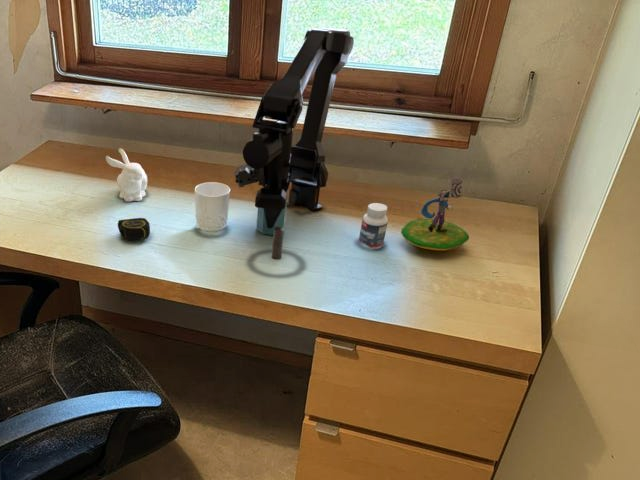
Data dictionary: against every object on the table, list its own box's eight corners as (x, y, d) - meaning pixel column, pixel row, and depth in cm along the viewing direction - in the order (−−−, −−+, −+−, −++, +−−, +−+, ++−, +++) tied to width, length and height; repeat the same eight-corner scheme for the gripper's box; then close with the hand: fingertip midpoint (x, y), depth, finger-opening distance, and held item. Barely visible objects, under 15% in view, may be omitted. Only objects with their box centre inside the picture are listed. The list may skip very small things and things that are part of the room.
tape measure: (147, 229, 159) (146, 214, 156) (152, 243, 153) (152, 227, 151) (118, 232, 158) (117, 217, 156) (122, 246, 152) (121, 230, 150)
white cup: (226, 239, 154) (228, 197, 148) (191, 236, 155) (191, 195, 149) (230, 224, 160) (232, 183, 154) (197, 221, 162) (197, 180, 155)
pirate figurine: (398, 256, 146) (412, 189, 137) (398, 229, 156) (411, 166, 147) (467, 263, 143) (486, 195, 134) (463, 236, 153) (480, 171, 144)
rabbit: (144, 205, 169) (142, 157, 162) (106, 204, 170) (103, 157, 163) (150, 185, 179) (149, 140, 172) (114, 184, 180) (111, 139, 173)
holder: (282, 246, 151) (285, 213, 146) (313, 268, 143) (317, 233, 138) (239, 258, 147) (241, 224, 142) (269, 281, 139) (272, 246, 134)
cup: (274, 220, 157) (276, 191, 153) (289, 230, 153) (292, 201, 148) (251, 226, 155) (253, 197, 151) (266, 237, 151) (269, 207, 146)
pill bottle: (353, 243, 151) (359, 205, 146) (368, 236, 154) (375, 199, 148) (372, 252, 148) (379, 214, 143) (388, 245, 150) (395, 207, 145)
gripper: (244, 135, 152) (240, 201, 162) (232, 167, 138) (229, 237, 147) (295, 138, 150) (288, 205, 159) (288, 170, 136) (281, 242, 145)
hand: (271, 221), depth 153 cm, fingers closed on cup, 6 cm apart
